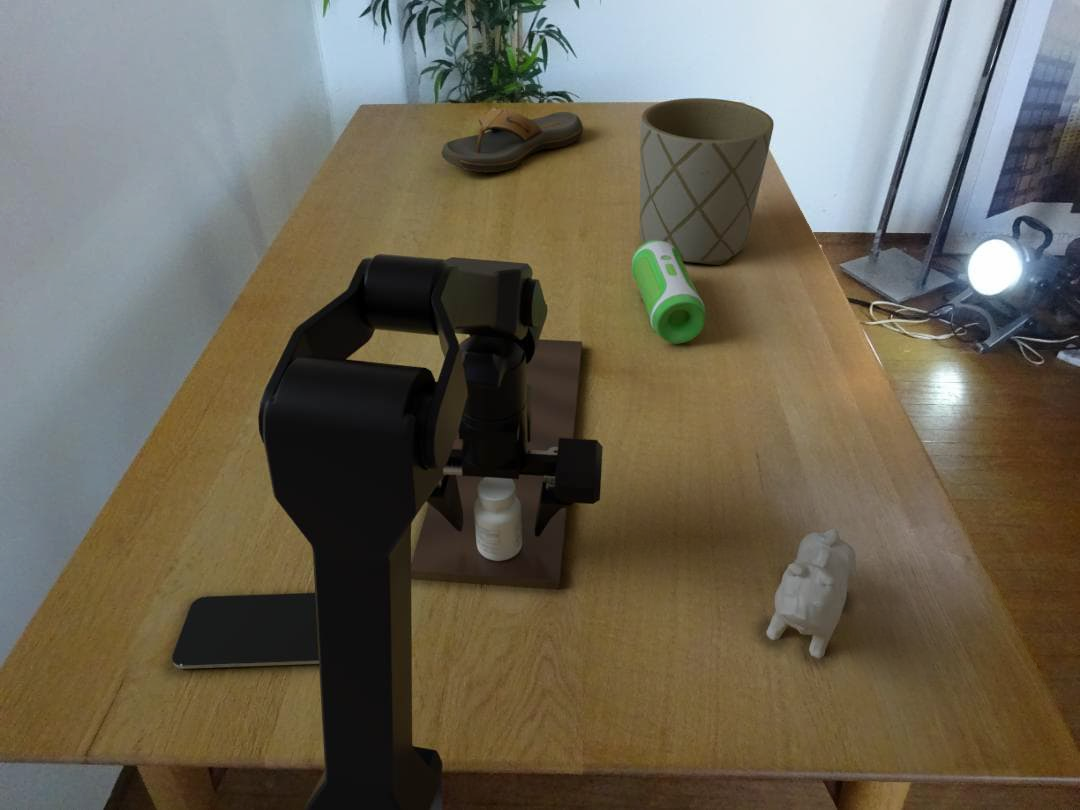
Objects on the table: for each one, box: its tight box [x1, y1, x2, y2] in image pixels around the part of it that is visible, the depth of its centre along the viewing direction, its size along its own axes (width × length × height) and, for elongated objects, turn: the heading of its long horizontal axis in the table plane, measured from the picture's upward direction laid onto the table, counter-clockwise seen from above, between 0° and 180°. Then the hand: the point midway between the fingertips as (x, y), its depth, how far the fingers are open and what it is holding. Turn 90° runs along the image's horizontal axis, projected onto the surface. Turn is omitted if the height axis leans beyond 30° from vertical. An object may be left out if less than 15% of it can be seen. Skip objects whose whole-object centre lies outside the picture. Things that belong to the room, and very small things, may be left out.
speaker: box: [631, 240, 706, 345], centre depth 111 cm, size 18×7×8 cm, turn 5°
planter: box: [639, 97, 775, 266], centre depth 124 cm, size 19×19×20 cm
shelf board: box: [411, 338, 583, 590], centre depth 91 cm, size 40×14×1 cm, turn 175°
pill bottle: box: [474, 477, 522, 561], centre depth 75 cm, size 4×4×8 cm
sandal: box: [441, 106, 584, 173], centre depth 158 cm, size 14×34×9 cm, turn 129°
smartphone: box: [171, 592, 319, 670], centre depth 71 cm, size 7×1×15 cm
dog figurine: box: [766, 528, 857, 659], centre depth 68 cm, size 5×13×11 cm, turn 150°
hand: (498, 530), depth 76 cm, fingers open, 7 cm apart
